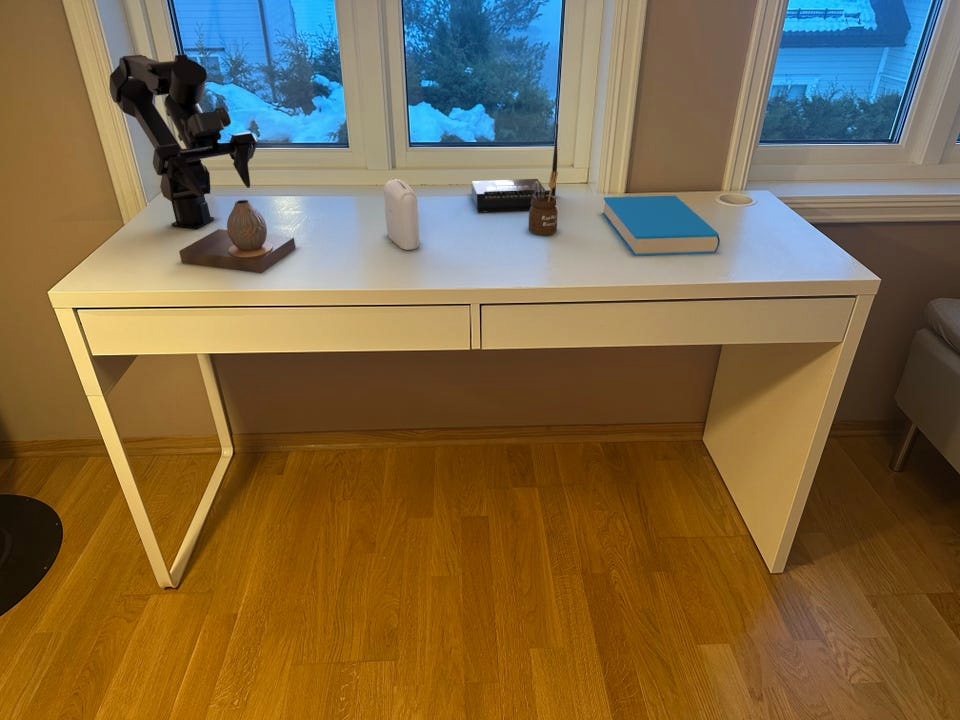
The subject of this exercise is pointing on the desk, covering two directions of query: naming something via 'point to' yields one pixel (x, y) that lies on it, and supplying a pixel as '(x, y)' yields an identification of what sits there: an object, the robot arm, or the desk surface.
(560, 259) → the desk surface
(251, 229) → the vase
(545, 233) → the utensil holder
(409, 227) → the photo printer
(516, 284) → the desk surface
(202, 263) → the riser board
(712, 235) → the book
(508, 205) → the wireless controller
